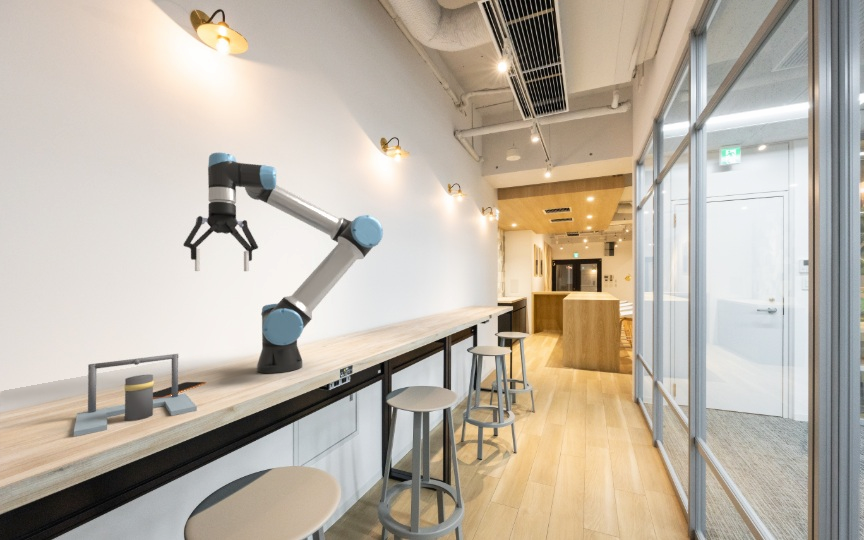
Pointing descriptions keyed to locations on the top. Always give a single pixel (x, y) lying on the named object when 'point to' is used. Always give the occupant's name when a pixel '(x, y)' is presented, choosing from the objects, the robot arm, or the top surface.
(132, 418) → the yellow-banded grey cylinder
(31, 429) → the top surface
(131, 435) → the top surface
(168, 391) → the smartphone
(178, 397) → the arch on base
